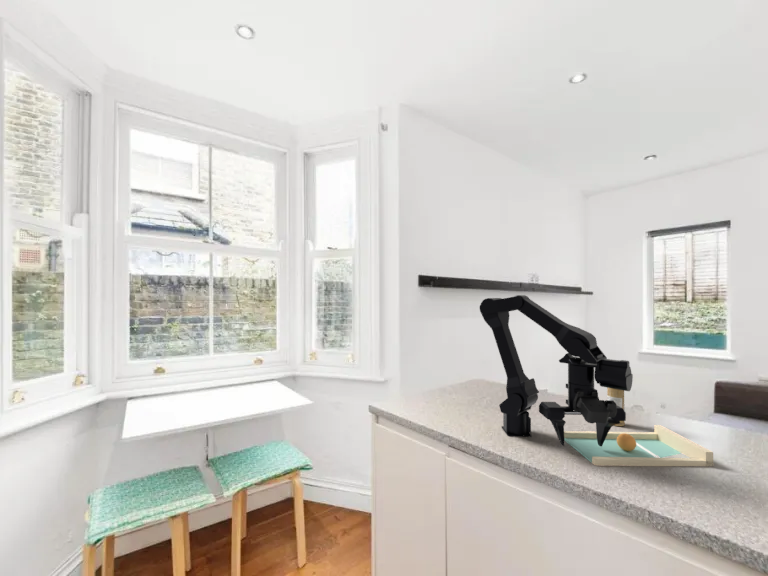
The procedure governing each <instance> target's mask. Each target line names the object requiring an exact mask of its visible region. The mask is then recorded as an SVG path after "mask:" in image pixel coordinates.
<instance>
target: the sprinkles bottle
mask: <svg viewBox="0 0 768 576" xmlns="http://www.w3.org/2000/svg"><path fill="white" fill-rule="evenodd" d="M606 388H607V387H606ZM606 390H607V391H606V392H607V393H606V397H607V398H606V400H613V401H614V402H615V403H616V405H617V406H619V407H621V408H623V409H624V411H625V408H626V407H625V391H624V390H618V389H613V388H607V389H606ZM625 412H626V411H625ZM625 425H626V422H625V421H620V424H616V425H614V426H613V427H624V426H625Z"/></svg>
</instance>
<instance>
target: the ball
mask: <svg viewBox="0 0 768 576" xmlns="http://www.w3.org/2000/svg"><path fill="white" fill-rule="evenodd" d="M617 444H618V446H619V447H620V448H621V449H623V450H625V451H632V450H634V449H635V447H636V441H635V439H634V438H633V437H632V436H631V435H629V434H625V433H623V434H620V435H619V436H618V437H617Z"/></svg>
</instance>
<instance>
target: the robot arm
mask: <svg viewBox="0 0 768 576" xmlns="http://www.w3.org/2000/svg"><path fill="white" fill-rule="evenodd" d="M513 311H514V312H515V311H519V312H520V313H521V314H522V315H524V316H526V317H527V318H529V319H530V320H531V321H533V322H534V323H535V324H537V325H538V326H540V327H541V328H542V329H544V330H545V331H546V332H548V333H549V334H551V335H552V336H553V337H554V338H555V339H556V341H557V343H558V344H559V345H560V347H562V348H563V349H564V350H565V351H566V352H567V353H565V354H564V356H563V357H561V358H560V359H559V360H558V362H559V363H561V364H567V369H568V370H567V383H565V388H566V389H567V399H565V404H566V405H567V406H564V405H560V404H559V403H557V402H556V401H541V402H540V403H539V405H538V413H540V414H541V415H542V416H543V417H545V419H547V420H548V421H550V422H551V425H552V426H553V429H554V432H555V434H556V436H557V438H558V441H559V443H560V446H563V447H564V446H565V442H566V441H565V440H564V431H565V426H566V425H565V424H566V421H565V420H564V418H566V416H565V415H567V416H568V415H569V416H570V415H573V416H575V415H577V416H578V415H579V416H580V415H581V416H582V417H583V419H584V420H585V422H587V423H588V424H595V428H596V430H595V432H597V442H598V445H599V446H602V445H603V443H604V441H605V438H606V436H607V434H608V432H610V430H611V428H612V427H615V426H614V425H616V424H620V421H624V422H625V421H627V413H626V411H624V409H623V408H621V407H619V406H617V405H616V403H615V402H614V401H613V400H607V399H606V400H603V399H602V400H601V399H600V397H599V392H598V389H596V388H595V382H596V384H598V385H599V386H600V387H603V388H613V389H618V390H624V392H625V391H626V392H630V391H631V389H632V387H633V381H634V379H633V378H634V377H633V376H634V375H633V373H632V368H631V366H630V360H626V359H625V360H624V359H621V360H619V359H618V360H617V359H610V358H607V356H606V354H605V353H604V352H603V351H602V350H601V348H600V347H599V345H598V343H597V338H596V337H595V335H594V334H592V333H590V332H589V331H587V330H584V329H582V328H580V327H577V326H575V325H572V324H569V323H566V322H565V321H563V320H562V319H560V318H559V317H557V316H556V315H554V314H553V313H551V312H550V311H548V310H547V309H545V308H544V307H542V306H541V305H539V304H537V302H535V301H533V300H532V299H531V298H529V297H528V296H527V295H525V294H521V295H520V294H516V295H514V296H510V297H506V298H505V297H504V298H501V297H489V298H485V299H482V301H481V303H480V305H479V312H480V314H481V315H482V316H481V317H482V318H483V320H484V322H485V323H486V324H487V325H488V326H489V328H490V329H491V330H492V333H493V336H494V340H495V343H496V346H497V349H498V352H499V355H500V358H501V362H502V365H503V368H504V372H505V375H506V386H505V387H506V388H505V389H506V396H507V398H506V399H505V400H503V401H502V402H501V403H500V404H499V405H498V407H499V409H500V412H501V414H503V417H502V418H503V421H502V423H503V425H502V426H501V429H502V431H503V432H504V433H505V435H507V437H517V438H518V437H519V438H520V437H523V438H526V437H527V438H532V434H531V432H532V418H531V417H530V413H529V410H532V407H533V406H534V405H535V404H536V403H537V401H538V399H539V395H538V394H539V393H540V392H539V390H538V388H537V385H536V381H535V380H536V379H534V378H533V377H532V378H529V377H528V376H527V375H526V373H525V371H524V369H523V365H522V363H521V360H520V357H519V353H518V351H517V347H516V345H515V341H514V339H513V335H512V333H511V330H510V326H509V322H510V312H513Z"/></svg>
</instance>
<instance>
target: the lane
mask: <svg viewBox="0 0 768 576" xmlns="http://www.w3.org/2000/svg"><path fill="white" fill-rule="evenodd" d="M653 428H654V429H653V431H651V432H650V431H647V432H645V431H609V432H608V434H607V436H606V438H605V441H604V443H603V445H602V446H599V445H598V442H597V432H596V431H593V430H592V431H590V430H589V431H586V430H585V431H583V430H582V431H581V430H580V431H579V430H576V431H575V430H574V431H573V430H572V431H571V430H570V431H569V430H564V440H565V441H564V442H566V443H567V444H568V445H569V446H571V447H572V448H573V449H575V451H577V452H578V453H579V454H580V455H581V456H582V457H584V458H585V459H587V461H589V462H590V463H591V464H592V465H594V466H598V467H599V466H602V467H603V466H604V467H608V466H610V467H611V466H612V467H619V466H624V467H627V466H628V467H629V466H630V467H714V451H712V450H710V449H708V448H707V447H704V446H702V445H700V444H699V443H696V442H694V441H693V440H691V439H689V438H686V437H685V436H682V435H681V434H679V433H677V432H675V431H673V430H671V429H669V428H667V427H665V426H663V425H661V424H654V425H653ZM623 433H625V434H629V435H631V436H632V437H633V438H634V439H635V441H636V447H635V449H634V450H632V451H625V450H623V449H621V448H620V447H619V446H618V444H617V437H618V436H619V435H620V434H623ZM680 454H682V455H684V456H686V457H672V456H677V455H680ZM657 455H658V456H659V457H660V458H659V457H657ZM654 456H656V457H654Z"/></svg>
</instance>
